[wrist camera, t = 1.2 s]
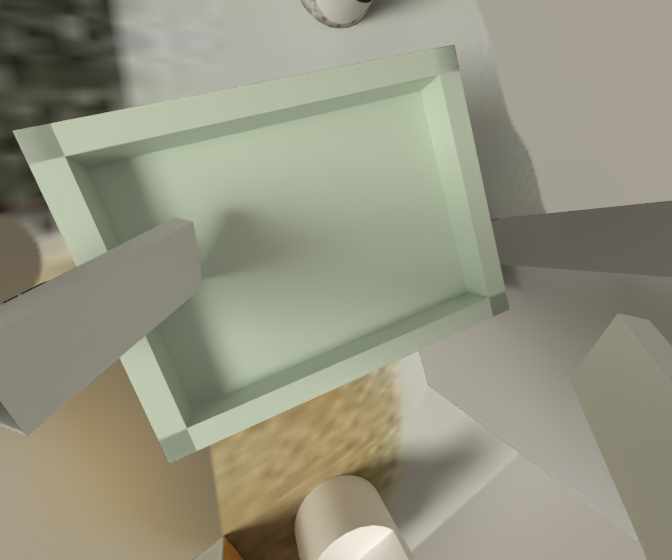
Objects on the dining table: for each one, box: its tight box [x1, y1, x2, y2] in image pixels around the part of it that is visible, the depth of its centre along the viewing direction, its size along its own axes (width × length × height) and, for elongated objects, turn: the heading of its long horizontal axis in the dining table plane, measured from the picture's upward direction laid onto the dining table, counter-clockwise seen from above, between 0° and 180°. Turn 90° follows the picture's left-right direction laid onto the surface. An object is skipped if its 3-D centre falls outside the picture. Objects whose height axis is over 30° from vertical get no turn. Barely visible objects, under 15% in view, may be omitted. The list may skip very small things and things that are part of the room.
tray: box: [13, 45, 510, 463], centre depth 14 cm, size 12×16×2 cm
